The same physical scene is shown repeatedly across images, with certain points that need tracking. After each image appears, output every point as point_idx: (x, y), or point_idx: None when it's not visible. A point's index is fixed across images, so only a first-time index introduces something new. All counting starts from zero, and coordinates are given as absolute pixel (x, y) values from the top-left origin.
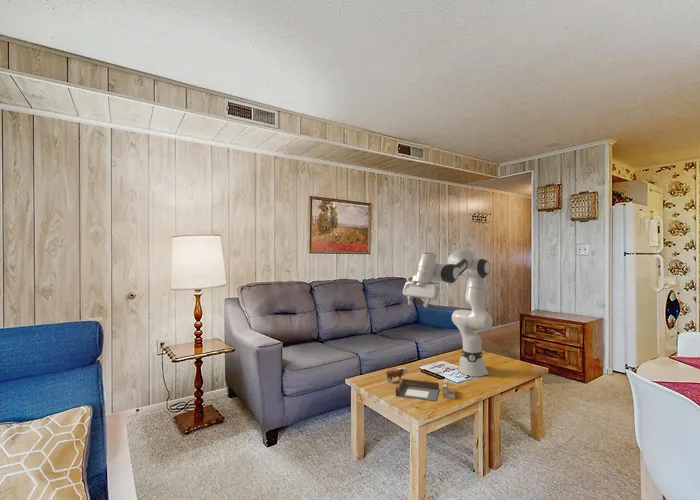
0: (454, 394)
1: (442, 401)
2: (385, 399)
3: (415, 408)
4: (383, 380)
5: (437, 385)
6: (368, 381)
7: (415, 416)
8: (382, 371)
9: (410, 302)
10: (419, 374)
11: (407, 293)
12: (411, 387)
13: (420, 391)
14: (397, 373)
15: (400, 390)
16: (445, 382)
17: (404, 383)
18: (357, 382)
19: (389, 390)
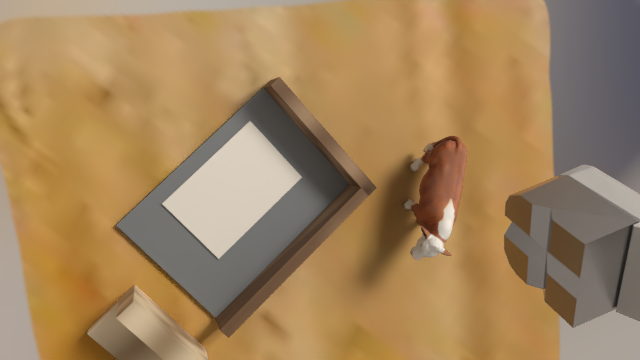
0: (109, 349)
1: (97, 254)
2: (262, 9)
3: (96, 79)
4: None
5: (222, 321)
6: (482, 62)
7: (17, 21)
8: None
9: (556, 227)
10: (429, 347)
11: None
12: (311, 209)
13: (243, 218)
14: (425, 193)
15: (304, 133)
16: (174, 353)
17: (348, 190)
18: (499, 6)
19: (341, 92)
